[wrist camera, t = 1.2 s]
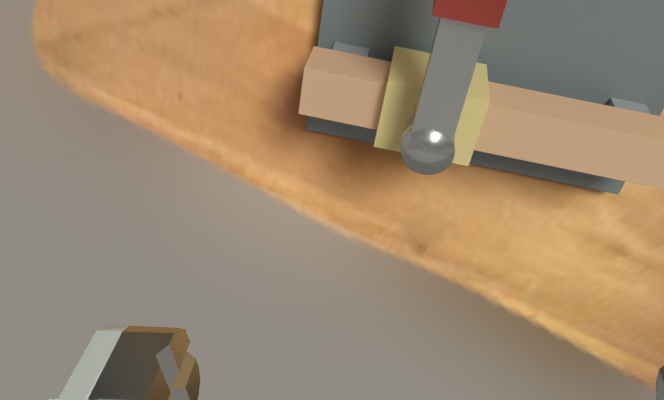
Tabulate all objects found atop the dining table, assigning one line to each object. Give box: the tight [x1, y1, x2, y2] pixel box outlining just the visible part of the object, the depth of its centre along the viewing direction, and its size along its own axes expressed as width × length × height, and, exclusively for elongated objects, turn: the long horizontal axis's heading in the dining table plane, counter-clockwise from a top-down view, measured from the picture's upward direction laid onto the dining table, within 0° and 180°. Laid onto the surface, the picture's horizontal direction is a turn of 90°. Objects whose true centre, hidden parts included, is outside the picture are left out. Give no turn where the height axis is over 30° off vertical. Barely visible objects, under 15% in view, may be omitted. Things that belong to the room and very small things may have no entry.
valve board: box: [298, 0, 664, 194], centre depth 34 cm, size 20×14×7 cm
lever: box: [401, 0, 507, 175], centre depth 28 cm, size 13×3×2 cm, turn 172°
